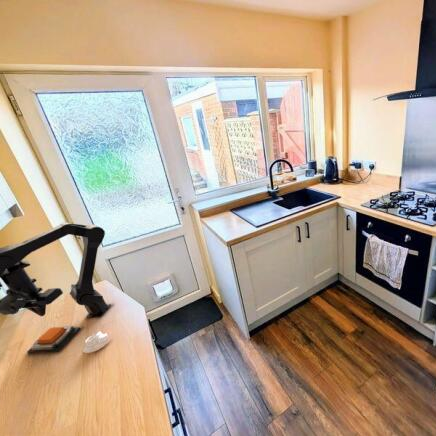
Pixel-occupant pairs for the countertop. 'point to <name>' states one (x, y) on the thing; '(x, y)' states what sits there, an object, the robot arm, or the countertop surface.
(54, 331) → the orange block
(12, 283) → the robot arm
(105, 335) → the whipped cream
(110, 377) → the countertop surface
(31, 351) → the mount plate
